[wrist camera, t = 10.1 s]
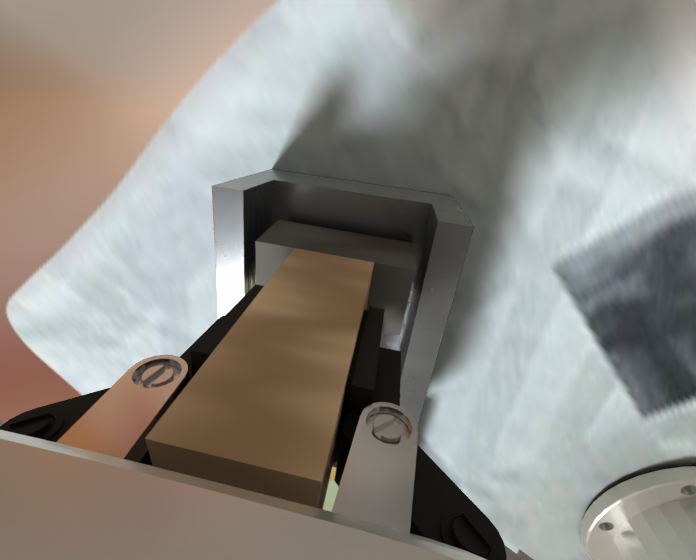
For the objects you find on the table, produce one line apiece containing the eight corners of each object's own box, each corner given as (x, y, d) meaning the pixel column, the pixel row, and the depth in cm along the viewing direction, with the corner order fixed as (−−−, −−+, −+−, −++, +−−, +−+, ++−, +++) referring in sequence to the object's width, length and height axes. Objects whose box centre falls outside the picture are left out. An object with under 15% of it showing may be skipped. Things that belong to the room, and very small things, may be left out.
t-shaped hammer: (415, 243, 14) (416, 505, 5) (401, 302, 16) (384, 586, 7) (278, 219, 15) (63, 418, 6) (277, 278, 16) (105, 511, 7)
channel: (452, 195, 17) (474, 226, 11) (400, 405, 23) (398, 491, 17) (271, 169, 18) (211, 185, 12) (266, 377, 24) (224, 450, 18)
